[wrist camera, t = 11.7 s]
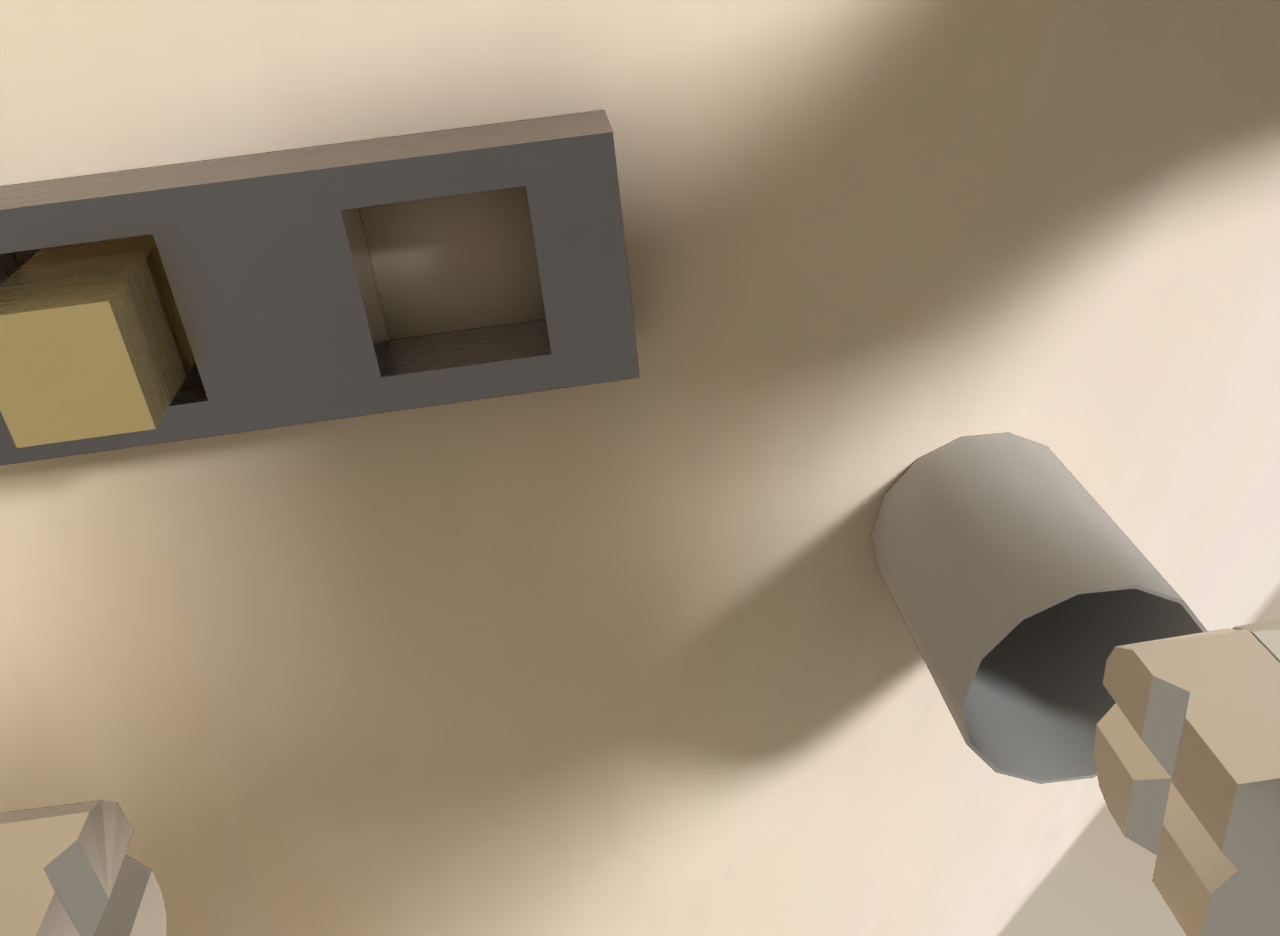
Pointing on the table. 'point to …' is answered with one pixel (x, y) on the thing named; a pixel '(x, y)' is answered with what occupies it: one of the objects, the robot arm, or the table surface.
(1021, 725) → the cup
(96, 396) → the block
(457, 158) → the rail
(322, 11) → the table surface
